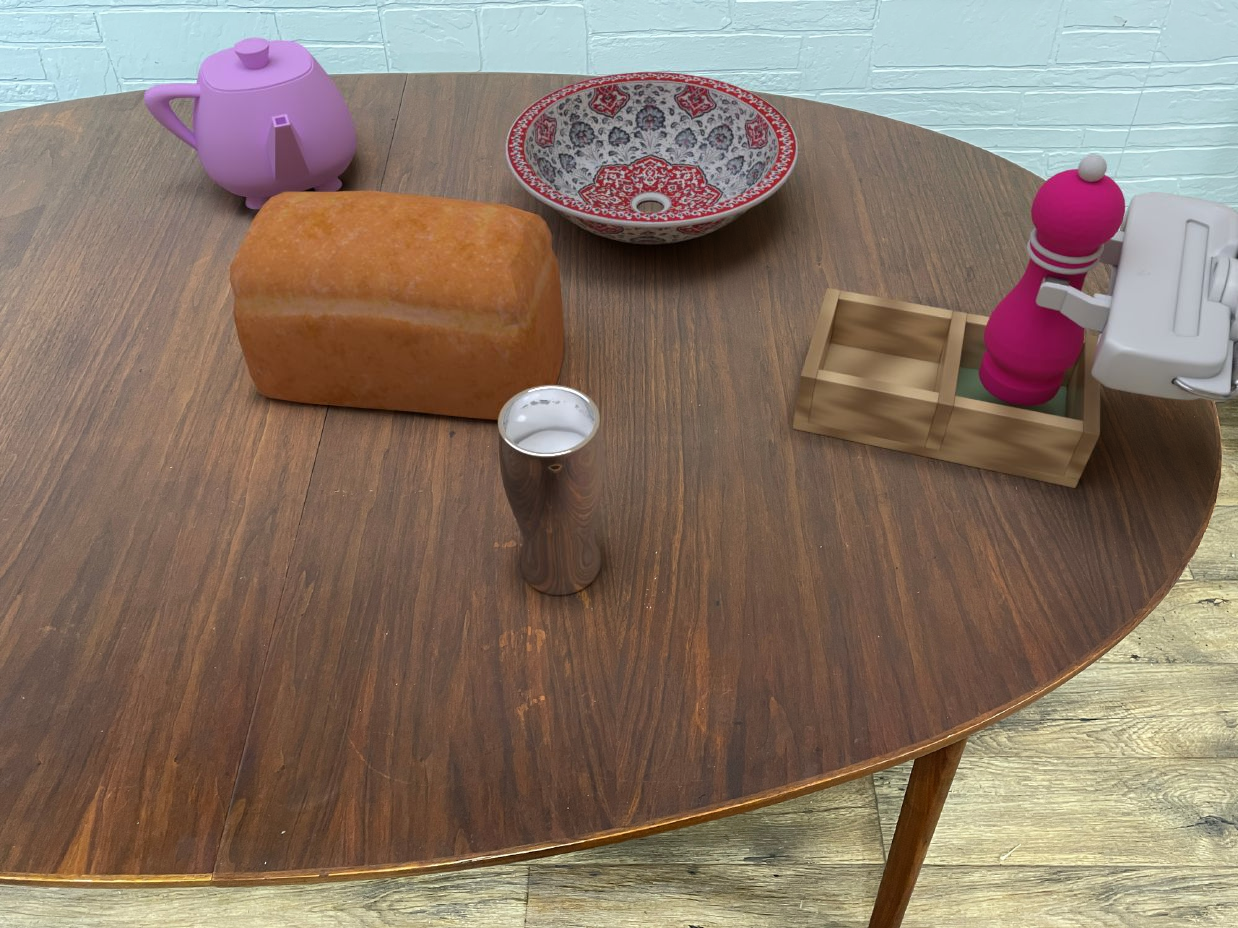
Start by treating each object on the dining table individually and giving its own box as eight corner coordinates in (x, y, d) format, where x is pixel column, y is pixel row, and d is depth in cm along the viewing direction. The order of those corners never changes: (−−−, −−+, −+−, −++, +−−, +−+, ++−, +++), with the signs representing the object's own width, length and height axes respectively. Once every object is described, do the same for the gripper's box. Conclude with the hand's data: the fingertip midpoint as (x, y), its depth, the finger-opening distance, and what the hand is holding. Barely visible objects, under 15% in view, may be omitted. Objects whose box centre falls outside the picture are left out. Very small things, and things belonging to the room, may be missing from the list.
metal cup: (619, 538, 79) (617, 394, 68) (589, 611, 75) (582, 468, 64) (533, 518, 81) (518, 373, 70) (499, 587, 76) (477, 444, 65)
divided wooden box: (1078, 390, 90) (1100, 336, 85) (1075, 488, 82) (1100, 434, 78) (818, 340, 95) (826, 287, 90) (792, 428, 87) (800, 375, 83)
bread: (544, 433, 87) (530, 280, 75) (245, 405, 90) (188, 252, 78) (572, 329, 96) (564, 178, 85) (301, 305, 99) (257, 156, 87)
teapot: (197, 261, 104) (145, 122, 93) (170, 164, 117) (122, 32, 106) (388, 214, 109) (361, 78, 98) (343, 127, 122) (315, -3, 111)
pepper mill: (1051, 351, 86) (1133, 128, 72) (1076, 411, 81) (1170, 185, 67) (963, 351, 86) (1028, 129, 72) (982, 411, 81) (1056, 186, 67)
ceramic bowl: (483, 281, 101) (474, 211, 95) (541, 130, 121) (536, 64, 115) (784, 306, 98) (794, 234, 92) (793, 146, 118) (802, 79, 112)
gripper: (1227, 441, 68) (1010, 385, 72) (1238, 268, 81) (1053, 229, 85) (1269, 368, 63) (1035, 313, 67) (1274, 197, 76) (1076, 159, 80)
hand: (1045, 265), depth 76 cm, fingers closed on pepper mill, 5 cm apart
